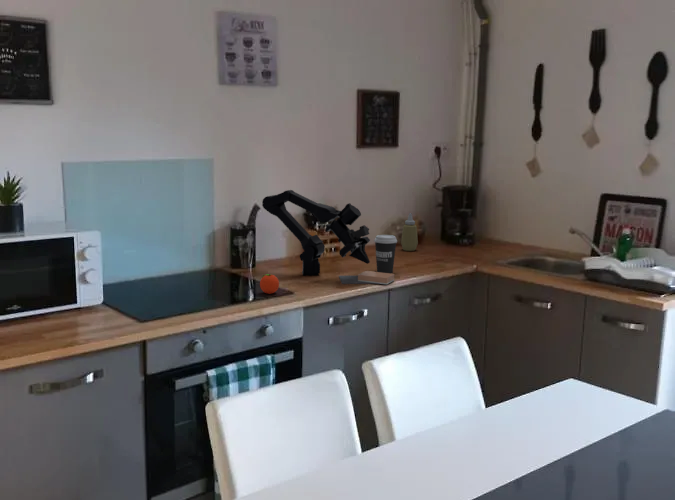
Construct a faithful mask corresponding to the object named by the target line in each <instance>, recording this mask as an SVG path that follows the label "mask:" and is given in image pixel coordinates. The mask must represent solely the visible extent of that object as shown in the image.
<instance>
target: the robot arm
mask: <svg viewBox="0 0 675 500" xmlns="http://www.w3.org/2000/svg"><path fill="white" fill-rule="evenodd" d="M287 202H289V203H291V204H294V205H295V206H297V207H300V208H301V209H303V210H306V211H308V212H310V213H311V214H312V215H313V216H314V217H315V218H316V219H317V220H319V221H320V222H321V223H328V224H326V225H325V232H326V233H327V232H331V231H332V233H333V234H334V235H335V237H336V238H337V242H338V243H342V244H343V247H342V248H341V249H340V250H338V251H339V253H338V254H339V255H340V257H341V258H345V257H346V256H347V254H348V253H350V254H349V255H348V256H349V257H351V258H354V259H357V260H359V261H361V262H362V263H364V264H366V265H368V264H370V263H371V261H370V258H369V257H368V254H367V252H366V245H367V244H368V243H369V242H371V239H370V238H369V237H368V235H370V232H369V230H370V228H369V227H368V226H366V225H361V226H359V229H357V230H354V229H350V228H349V226H352V225H353V224H354V223H355V222H356V221H357V220H359V218H360V217H361V216H362V212H361V211H360V209H359V208H358V207H356V206H354V205H352V204H351V203H347V204H346V205H345V206H344V207H343V209H341V210H339V209H336V208H335V207H333V206H332V205H327V204H322V203H318V202H316V201H313V200H311V199H309V198H307V197H305V195H304V196H303V195H302V194H300V193H297V192H295V191H294V190H292V189H290V190H289V189H288V190H287V189H286V190H284V191H283V192H281V193H278V194H273V195H272V194H271V195H267V196H265V197H264V198H263V199H262V204H261V205H262V208H263V209H264V210H265V211H267V213H269V214H271V215H272V216H275V217H277V218H278V219H279V220H280V221H281V222H282V223H283V224H284V226H285V227H286V228H287V229H288V230H289V231H290V232H291V233H292V234H293V235H294V237H296V239H297V240H299V242H300V244H301V248H302V250H303V252H302V253H301V254H299V259H300V261H302V273H301V274H302V276H305V277H306V276H310V277H311V276H314V277H317V276H320V274H321V263H320V262H319V259H321V256H322V255H323V254H324V252H325V251H326V248H325V246H326V245H325V244H324V240H322V239H320V237H319V235H317V234H315V235H312V234H310V233H309V232H308V231H307V230H306V229H305V228H304V227H303V226H302V225H301V224H300V223H299V222H298V220H297V219H296V218H295V217H294V216H293V215H292V214H291V213H290V212H289V211H288V210H287V208H286V205H285V203H287ZM329 222H331V223H329Z"/></svg>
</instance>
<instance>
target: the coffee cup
mask: <svg viewBox="0 0 675 500" xmlns="http://www.w3.org/2000/svg"><path fill="white" fill-rule="evenodd" d="M397 239H398V238H397V237H396V236H395V235H392V234H378V235H376V236H375V238H374V240H373V242H374V244H375V261H376V262H375V264H376V272H382V273H391V274H394V264H395V255H396V245H397V243H398V240H397Z"/></svg>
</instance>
